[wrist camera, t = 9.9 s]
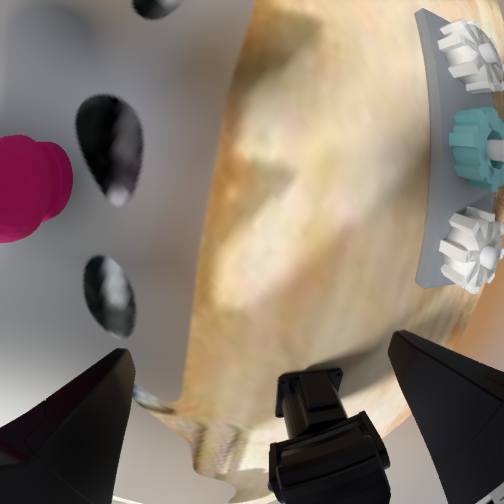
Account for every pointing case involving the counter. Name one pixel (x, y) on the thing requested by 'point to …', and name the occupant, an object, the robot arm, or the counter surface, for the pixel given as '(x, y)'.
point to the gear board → (442, 160)
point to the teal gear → (477, 147)
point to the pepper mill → (31, 185)
